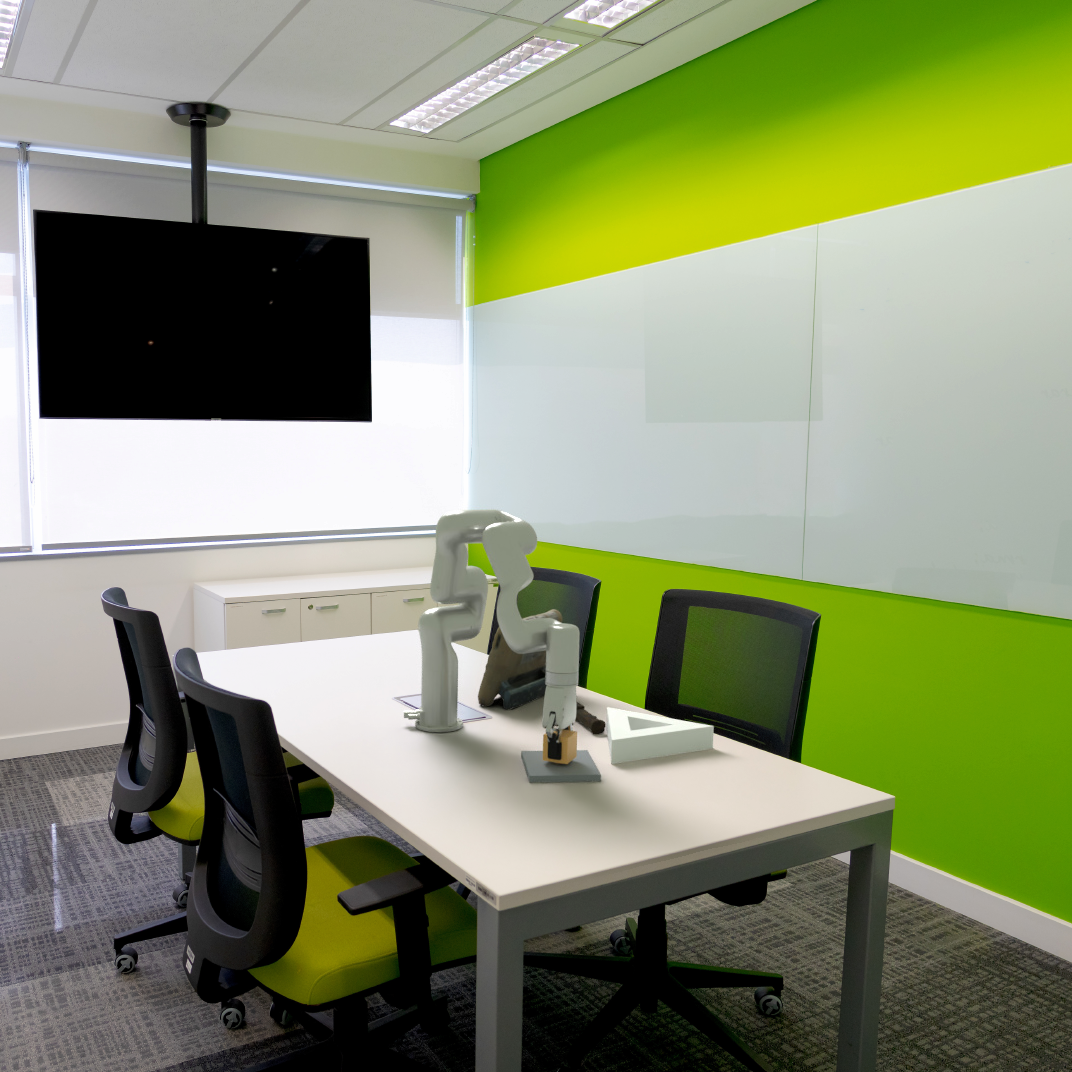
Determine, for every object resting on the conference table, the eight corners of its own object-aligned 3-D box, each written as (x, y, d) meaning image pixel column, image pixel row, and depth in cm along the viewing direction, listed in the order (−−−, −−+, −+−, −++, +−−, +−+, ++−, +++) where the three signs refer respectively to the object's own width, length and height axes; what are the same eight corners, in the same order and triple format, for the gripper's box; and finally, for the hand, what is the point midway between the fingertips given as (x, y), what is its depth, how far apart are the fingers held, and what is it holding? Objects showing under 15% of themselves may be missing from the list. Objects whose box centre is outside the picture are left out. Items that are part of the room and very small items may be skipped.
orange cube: (542, 760, 225) (543, 734, 224) (552, 753, 230) (553, 728, 230) (567, 764, 223) (567, 738, 222) (576, 756, 228) (577, 731, 228)
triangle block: (606, 730, 261) (606, 707, 261) (704, 733, 260) (705, 710, 260) (611, 766, 231) (611, 740, 231) (722, 770, 230) (723, 743, 230)
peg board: (529, 782, 217) (530, 758, 216) (521, 757, 235) (521, 734, 234) (600, 781, 219) (601, 757, 218) (587, 756, 237) (587, 733, 236)
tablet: (523, 683, 310) (525, 604, 308) (563, 688, 304) (565, 608, 302) (474, 706, 280) (476, 619, 278) (518, 712, 275) (520, 624, 272)
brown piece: (605, 734, 256) (606, 717, 255) (591, 735, 254) (592, 718, 254) (581, 716, 274) (582, 699, 273) (568, 716, 272) (568, 700, 272)
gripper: (560, 668, 234) (558, 743, 236) (531, 683, 218) (529, 763, 220) (590, 672, 231) (588, 747, 233) (563, 687, 216) (561, 768, 217)
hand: (559, 754), depth 226 cm, fingers closed on orange cube, 5 cm apart
